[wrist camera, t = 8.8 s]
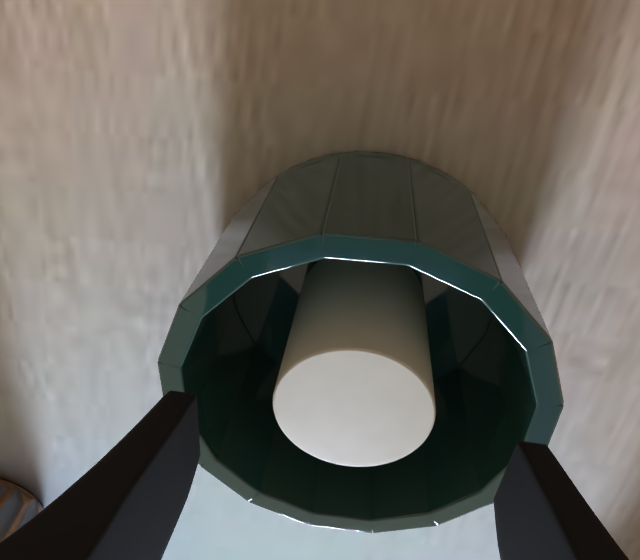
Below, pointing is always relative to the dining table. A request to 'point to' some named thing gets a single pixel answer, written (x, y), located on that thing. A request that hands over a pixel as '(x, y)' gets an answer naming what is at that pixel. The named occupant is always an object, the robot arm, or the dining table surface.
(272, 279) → the dark green bowl
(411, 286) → the candle
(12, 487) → the vase
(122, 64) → the dining table surface
